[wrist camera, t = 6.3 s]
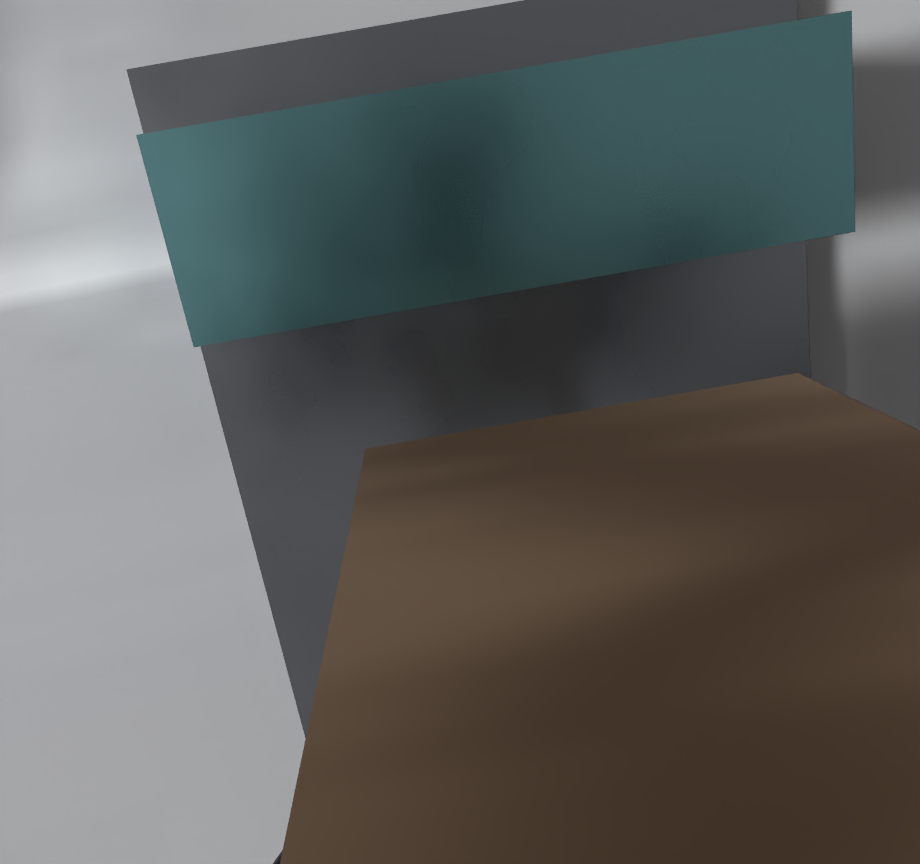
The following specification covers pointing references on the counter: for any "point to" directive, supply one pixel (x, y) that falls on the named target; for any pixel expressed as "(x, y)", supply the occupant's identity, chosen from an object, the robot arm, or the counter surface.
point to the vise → (485, 234)
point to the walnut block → (627, 641)
